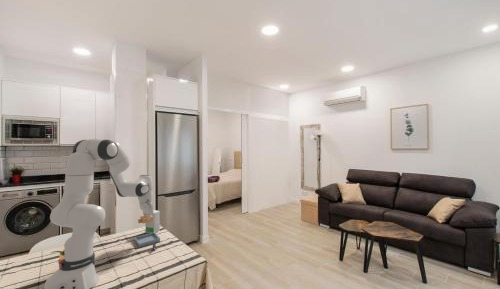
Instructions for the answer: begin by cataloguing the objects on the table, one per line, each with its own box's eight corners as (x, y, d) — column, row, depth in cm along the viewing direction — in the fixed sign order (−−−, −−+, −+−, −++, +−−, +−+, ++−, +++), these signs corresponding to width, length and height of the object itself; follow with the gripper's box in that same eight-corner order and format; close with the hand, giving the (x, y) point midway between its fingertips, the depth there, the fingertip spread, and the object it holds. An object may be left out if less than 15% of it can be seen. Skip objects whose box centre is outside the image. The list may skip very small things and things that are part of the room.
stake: (152, 251, 142) (152, 245, 142) (151, 249, 145) (150, 244, 145) (157, 249, 144) (157, 244, 144) (155, 248, 147) (155, 242, 147)
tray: (139, 247, 148) (139, 243, 148) (134, 240, 158) (134, 237, 158) (160, 241, 156) (160, 238, 156) (154, 235, 166) (154, 232, 166)
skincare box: (145, 232, 172) (144, 212, 172) (151, 229, 178) (150, 209, 178) (154, 234, 169) (154, 213, 169) (160, 230, 176) (160, 210, 175)
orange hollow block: (153, 221, 156) (153, 216, 156) (139, 224, 151) (139, 219, 151) (150, 218, 161) (150, 214, 161) (137, 221, 156) (137, 217, 156)
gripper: (155, 200, 150) (156, 221, 151) (147, 194, 166) (147, 213, 167) (145, 202, 146) (145, 223, 147) (137, 196, 162) (138, 215, 163)
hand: (146, 218), depth 157 cm, fingers closed on orange hollow block, 6 cm apart
